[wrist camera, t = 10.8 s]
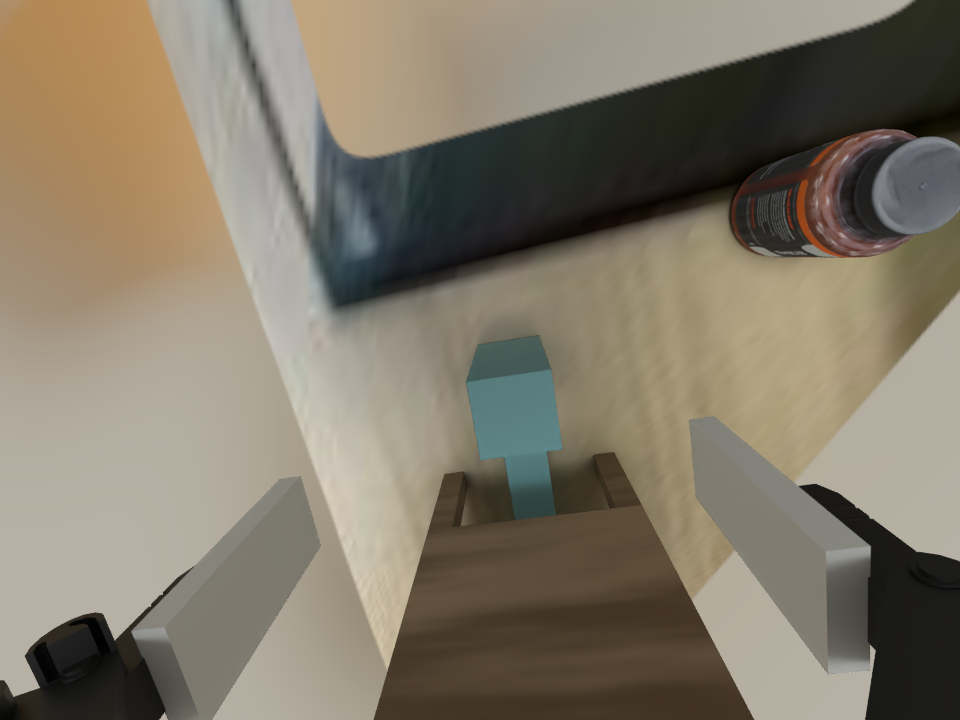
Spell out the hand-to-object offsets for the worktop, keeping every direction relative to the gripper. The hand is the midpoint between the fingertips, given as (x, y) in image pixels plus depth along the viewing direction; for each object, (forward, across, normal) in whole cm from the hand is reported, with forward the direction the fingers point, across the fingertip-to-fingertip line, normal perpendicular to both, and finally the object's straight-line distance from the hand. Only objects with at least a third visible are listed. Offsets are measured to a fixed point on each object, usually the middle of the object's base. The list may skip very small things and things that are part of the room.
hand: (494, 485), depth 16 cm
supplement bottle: (+19, +19, +7) cm, 28 cm away
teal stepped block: (+19, 0, -10) cm, 21 cm away
